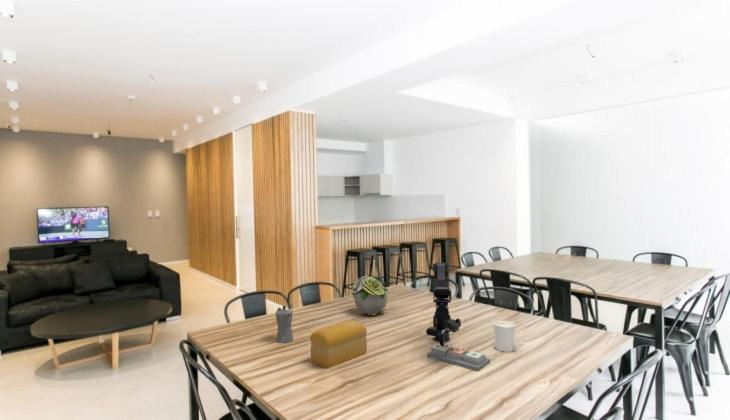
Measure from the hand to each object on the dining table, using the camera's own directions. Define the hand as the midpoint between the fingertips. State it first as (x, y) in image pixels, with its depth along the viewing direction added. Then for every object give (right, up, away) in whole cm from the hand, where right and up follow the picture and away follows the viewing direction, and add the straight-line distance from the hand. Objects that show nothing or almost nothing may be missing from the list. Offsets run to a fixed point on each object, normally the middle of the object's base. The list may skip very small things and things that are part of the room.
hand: (442, 345), depth 184 cm
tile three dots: (+6, -3, -5) cm, 8 cm away
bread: (-48, -5, 0) cm, 48 cm away
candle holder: (+31, -4, +7) cm, 33 cm away
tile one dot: (+12, -3, -11) cm, 16 cm away
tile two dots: (0, -2, 0) cm, 2 cm away
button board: (+6, -4, -5) cm, 9 cm away
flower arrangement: (-32, -4, +70) cm, 77 cm away
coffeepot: (-79, -5, +24) cm, 82 cm away
